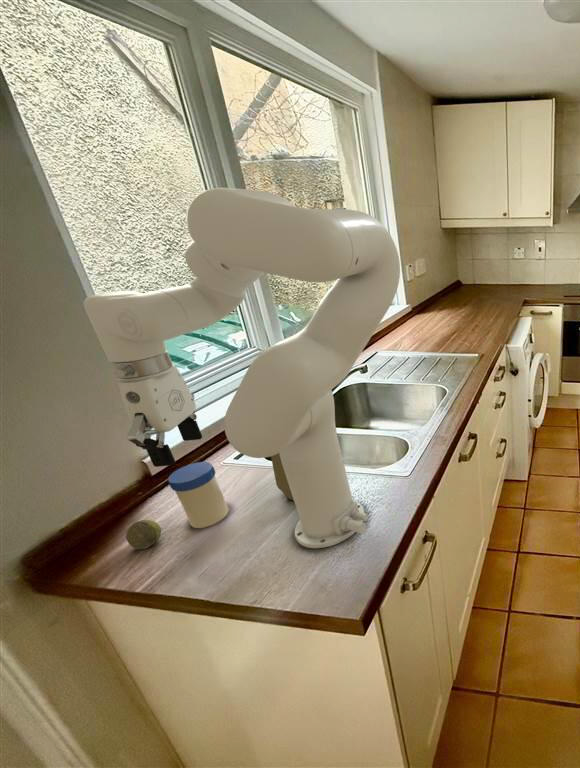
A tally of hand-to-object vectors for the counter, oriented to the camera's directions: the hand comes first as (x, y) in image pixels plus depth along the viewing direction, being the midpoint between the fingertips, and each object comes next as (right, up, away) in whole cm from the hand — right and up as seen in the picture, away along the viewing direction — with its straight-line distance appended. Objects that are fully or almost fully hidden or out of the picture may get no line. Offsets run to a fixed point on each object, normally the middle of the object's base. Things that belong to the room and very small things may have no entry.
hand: (179, 451), depth 74 cm
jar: (+1, -14, +6) cm, 16 cm away
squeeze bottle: (+16, -11, +13) cm, 24 cm away
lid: (+1, -5, +2) cm, 5 cm away
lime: (-6, -18, 0) cm, 19 cm away
